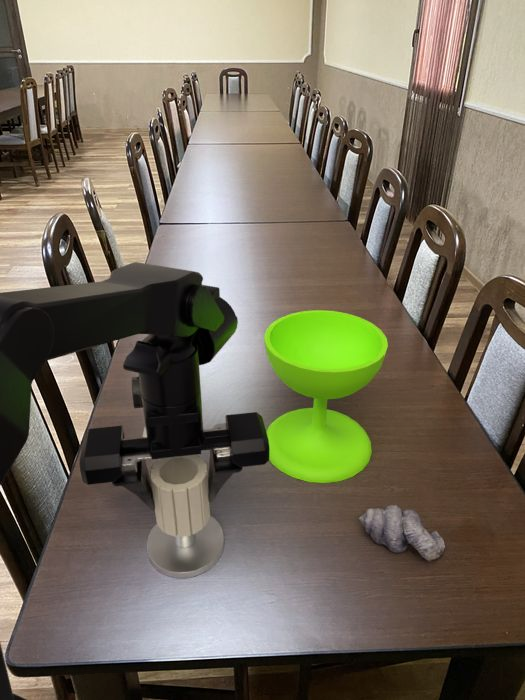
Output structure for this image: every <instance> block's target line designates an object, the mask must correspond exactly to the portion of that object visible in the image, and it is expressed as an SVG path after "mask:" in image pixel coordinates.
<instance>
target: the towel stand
mask: <svg viewBox="0 0 525 700" xmlns="http://www.w3.org/2000/svg"><path fill="white" fill-rule="evenodd" d="M224 548H225V535H224V530H223V528H222V525H221V524H220V523H219V522H218V520H217V519H216V518H215V517H213V516H212V515H210V517H209V520H208V522H207V524H206V525H205V527H203V529H202V530H200V531H198V532H197V533H195V534H192V533H191V536H185V537H178V535H177V536H176V537H174V536H171V535H168V534H166V533H165V532H163V531H162V530H161V529H160V527H159V526H158V525H157V523H155V524H154V526H153V527H152V528H151V530H150V532H149V533H148V537H147V540H146V551H147V556H148V560H149V562H150V564H151V565H152V566H153V568H154V569H155V570H156V571H158V572H159V573H161V574H162V575H163V576H165V577H170V578H173V579H189V578H194V577H197V576H200V575H202V574H205V573H206V572H207V571H209V570H210V569H212V568H213V567H214V566H215V565H216V564H217V563H218V562H219V560H220V558H222V554H223V552H224Z"/></svg>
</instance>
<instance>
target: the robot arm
mask: <svg viewBox="0 0 525 700" xmlns="http://www.w3.org/2000/svg"><path fill="white" fill-rule="evenodd" d="M203 280H204V276H203V275H202V274H201V273H200V272H199V271H194V270H188V269H183V268H182V269H181V268H175V267H169V266H164V265H158V264H151V263H145V262H139V261H134V262H130V263H129V264H126V265H123V266H120V267H118V268H115V269H113V270H112V271H111V272H110V275H109V278H107V279H105V280H101V281H93V282H92V281H91V282H84V283H75V284H66V285H58V286H48V287H39V288H30V289H22V290H13V291H4V292H0V486H2V484H3V482H4V480H5V479H6V477H7V476H8V474H9V472H10V470H11V468H12V467H13V465H14V464H15V462H16V460H17V458H18V457H19V455H20V453H21V452H22V450H23V448H24V447H25V445H26V443H27V441H28V438H29V434H30V419H31V402H32V388H33V387H32V384H33V382H34V380H35V378H36V377H37V375H38V373H39V372H40V370H41V369H42V367H43V365H44V364H45V363H46V362H48V361H50V360H54V359H57V358H61V357H64V356H68V355H72V354H75V353H77V352H81V351H85V350H88V349H92V348H95V347H98V346H102V345H105V344H109V343H112V342H116V341H119V340H123V339H125V338H129V337H133V336H136V335H146V336H145V337H144V338H143V339H141V340H137V341H136V342H135V344H134V347H133V349H132V350H131V352H129V354H127V355H126V356H125V359H124V361H123V364H122V368H123V370H124V371H128V372H132V373H138V376H132V378H131V392H132V393H131V394H132V404H133V408H134V409H142V410H143V411H142V412H143V417H144V425H145V426H144V427H146V433H147V438H143V437H140V438H131V439H125V437H126V435H125V434H126V433H125V428H124V426H123V425H116V426H115V425H114V426H113V425H112V426H104V427H103V426H102V427H94V428H88V429H87V431H86V432H85V433H84V434H83V437H82V445H81V451H80V456H79V471H80V475H81V480H82V482H83V483H84V484H86V485H88V486H90V485H98V484H99V485H100V484H108V483H111V484H112V485H113V487H122V488H124V489H126V490H127V491H128V492H130V493H131V494H133V495H135V496H136V497H137V498H138V499H140V500H141V502H142V503H144V504H145V505H146V506H147V507H148V508H149V510H152V511H155V504H154V499H153V493H152V486H151V478H150V473H149V468H148V465H147V461H151V460H152V461H153V460H159V459H161V458H170V457H179V456H188V455H197V456H198V455H202V451H209V461H208V462H209V463H208V471H207V474H208V490H209V493H208V497H209V504H210V503H213V502H214V500H215V499H216V498H217V495H218V494H219V492H220V491H221V489H222V488H223V486H224V484H226V483H227V481H229V479H230V478H231V477H232V476H233V475H234V474H238V473H241V472H242V470H243V468H247V467H254V466H263V465H266V464H267V463H268V462H270V460H269V440H268V437H267V433H266V431H267V429H266V426H265V423H264V419H263V416H262V415H261V414H260V413H258V411H254V412H253V411H252V412H244V413H243V412H242V413H235V414H226V415H225V416H224V417H225V422H221V423H216V424H214V425H212V427H211V428H204V419H203V418H204V417H203V402H202V387H201V373H200V372H201V371H200V366H203V365H206V364H209V363H211V362H212V360H214V359H215V357H216V356H217V354H219V352H220V351H221V350H222V349H223V347H224V346H225V345H226V344H227V343H228V341H230V339H231V338H232V337H233V335H234V334H235V333H236V331H237V329H238V324H239V323H238V322H239V321H238V316H237V315H236V312H235V311H234V309H233V307H232V306H231V304H230V303H229V302H228V301H227V300H225V299H224V298H222V297H221V294H220V292H221V291H220V290H221V289H220V287H218V286H213V285H207V284H203ZM0 700H28V699H26V698H24V697H22V696H20V695H18V694H16V693H14V692H13V689H12V684H11V680H10V676H9V672H8V669H7V664H6V660H5V656H4V651H3V647H2V644H1V642H0Z"/></svg>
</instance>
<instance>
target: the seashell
mask: <svg viewBox="0 0 525 700" xmlns="http://www.w3.org/2000/svg"><path fill="white" fill-rule="evenodd" d="M359 522H360V523H361V526H362V527H363V528H364V529H365V532H366V534H368V535H370V537H371V539H372V540H373V542H375V543H376V544H377V545H384V546H386V548H387V549H388V550H389V551H390V552H392V553H394V554H399V553H403V552H405V551H407V550H408V547H409V545H411V547H413V549H415V550H416V551H417V552H418V554H420V556H421V557H422V558H423V559H424V560H426V561H427V562H432V561H433V560H436V559H438V558H440V556H441V555H442V554H444V550H445V548H446V545H445V541H444V538H443V537H442V536H441V535H439V532H438V530H434V531H432V532H431V533H430V532H429V531H428V530H427V529H426V528H425V526H424V525H423V522H422V519H421V518H420V515H419V514H418V513H417V512H416V511H415V510H413V509H405V510H402V508H400V507H399V506H398V505H397V504H390V505H387V506H385V508H379V507H376V508H374V507H373V508H372V507H370V508H367V509H366V510H365V513H363V515H361V516H360V517H359Z"/></svg>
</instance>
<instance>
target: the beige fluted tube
mask: <svg viewBox="0 0 525 700" xmlns="http://www.w3.org/2000/svg"><path fill="white" fill-rule="evenodd" d="M149 476H150V479H151V486H152V493H153V499H154V504H155V510H154V513H155V521H156V522H155V523H156V524H157V525H158V526H159V527H160V529H161V530H162V531H163V532H165V533H166V534H168V535H171V536H174V537H176V536H177V535H178V537H185V536H191V533H192V534H195V533H197V532H198V531H200V530H202V529H203V527H205V525H206V524H207V522H208V520H209V517H210V516H211V507H210V506H211V505H210V503H209V497H208V493H209V490H208V466H207V462H206V460H204V459H203V457H201V456H200V454H197V455H188V456H179V457H170V458H161V459H156V461H155V462H154V463H153V464H152V466H151V468H150V473H149Z"/></svg>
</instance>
